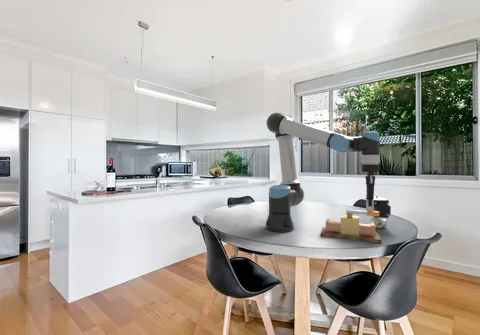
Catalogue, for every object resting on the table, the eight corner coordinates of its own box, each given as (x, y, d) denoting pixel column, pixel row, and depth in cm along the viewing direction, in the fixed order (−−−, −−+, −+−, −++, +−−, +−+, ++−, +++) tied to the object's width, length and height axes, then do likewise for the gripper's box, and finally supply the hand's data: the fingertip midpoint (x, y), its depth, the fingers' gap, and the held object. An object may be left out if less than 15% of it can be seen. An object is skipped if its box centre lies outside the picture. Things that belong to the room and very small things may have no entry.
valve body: (325, 233, 121) (325, 214, 121) (326, 229, 129) (326, 211, 128) (375, 239, 112) (376, 218, 112) (374, 234, 120) (374, 215, 120)
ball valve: (392, 231, 129) (393, 197, 128) (375, 230, 130) (375, 197, 130) (380, 223, 146) (380, 193, 146) (365, 222, 148) (365, 193, 148)
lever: (346, 214, 119) (346, 210, 119) (346, 213, 122) (346, 208, 122) (379, 216, 114) (379, 212, 114) (378, 215, 117) (378, 211, 117)
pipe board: (320, 236, 120) (320, 233, 120) (322, 230, 131) (322, 227, 131) (381, 243, 110) (381, 239, 110) (378, 235, 121) (378, 232, 121)
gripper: (360, 163, 126) (360, 209, 126) (362, 164, 114) (361, 214, 114) (377, 163, 123) (376, 210, 123) (381, 164, 111) (380, 216, 111)
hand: (369, 212), depth 119 cm, fingers closed
